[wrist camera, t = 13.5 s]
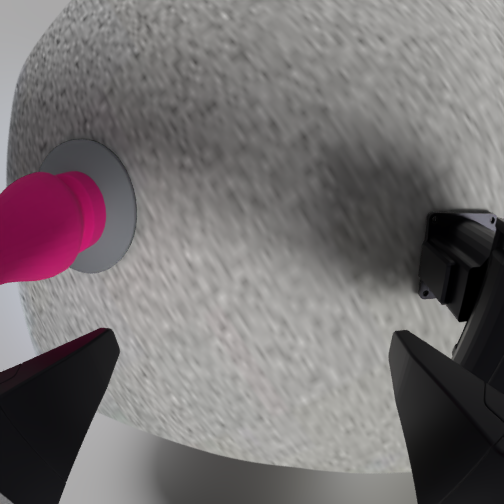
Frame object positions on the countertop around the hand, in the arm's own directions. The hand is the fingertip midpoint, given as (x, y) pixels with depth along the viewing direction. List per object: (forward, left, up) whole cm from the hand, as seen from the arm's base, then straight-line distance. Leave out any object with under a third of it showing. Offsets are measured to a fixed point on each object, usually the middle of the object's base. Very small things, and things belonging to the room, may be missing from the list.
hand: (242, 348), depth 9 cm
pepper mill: (+15, -3, -12) cm, 19 cm away
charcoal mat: (+15, -3, -12) cm, 19 cm away
